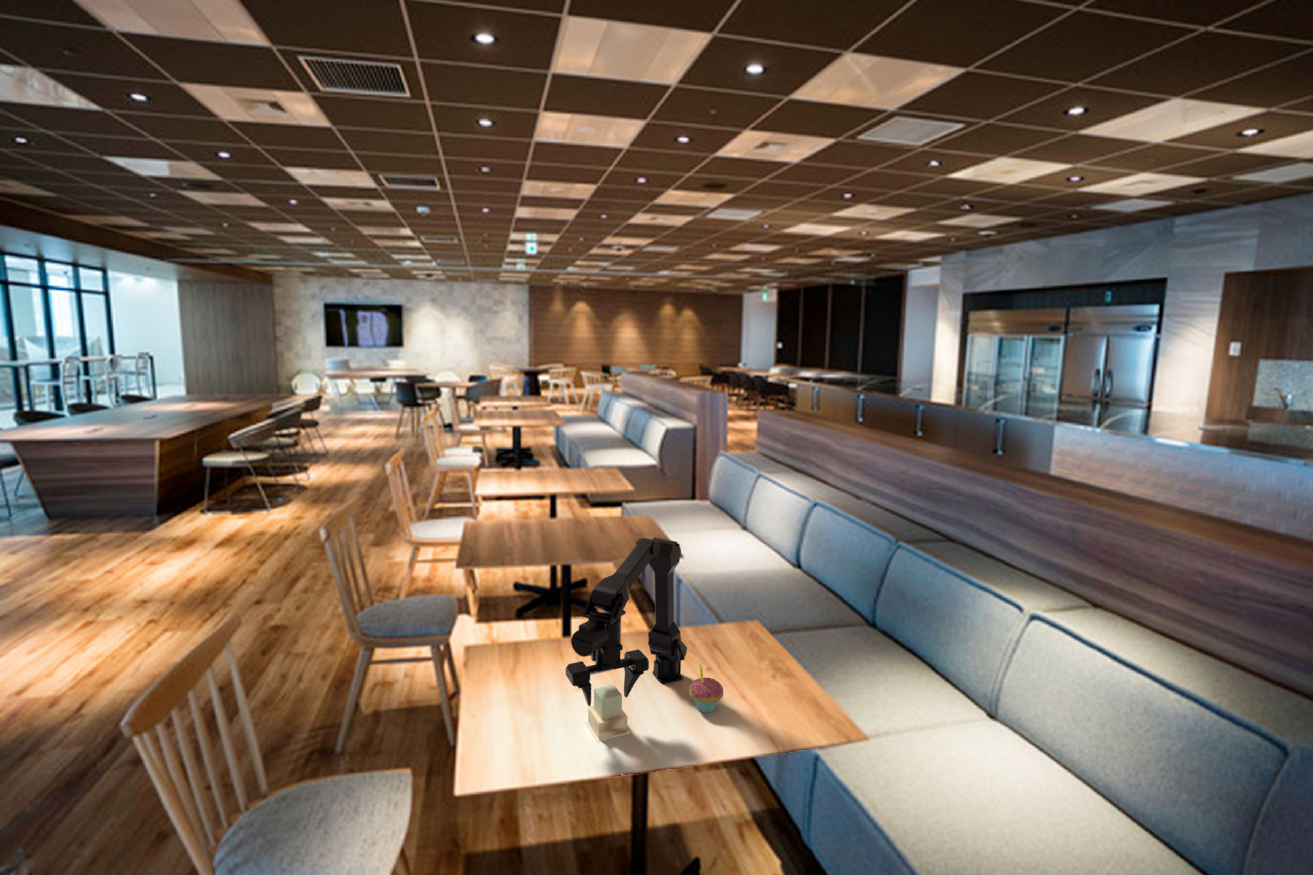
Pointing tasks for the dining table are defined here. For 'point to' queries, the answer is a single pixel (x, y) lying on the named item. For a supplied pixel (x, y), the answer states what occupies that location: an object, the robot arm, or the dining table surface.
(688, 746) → the dining table surface
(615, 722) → the maple block
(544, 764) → the dining table surface
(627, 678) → the robot arm
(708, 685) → the cupcake
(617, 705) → the green cube
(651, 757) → the dining table surface
